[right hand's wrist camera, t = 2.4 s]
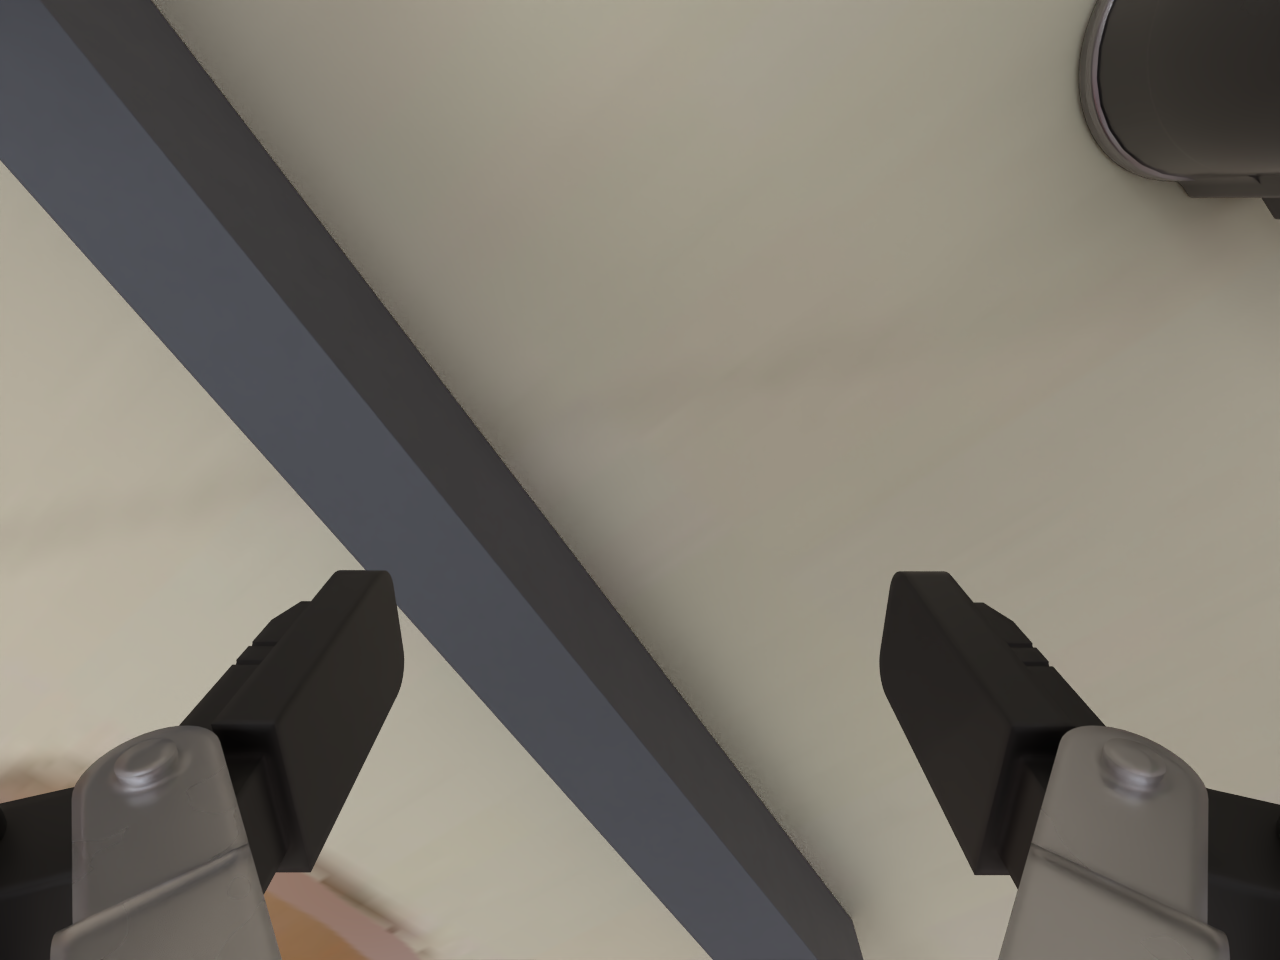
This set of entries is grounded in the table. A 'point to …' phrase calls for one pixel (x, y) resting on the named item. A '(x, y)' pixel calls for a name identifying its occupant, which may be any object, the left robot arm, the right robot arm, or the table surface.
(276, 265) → the post
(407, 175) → the table surface
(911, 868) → the table surface
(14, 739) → the table surface
